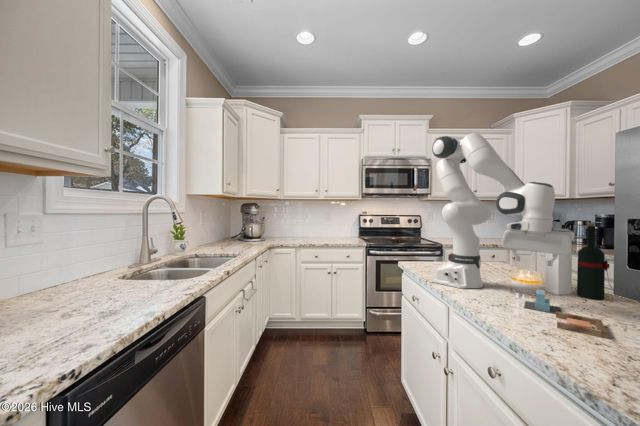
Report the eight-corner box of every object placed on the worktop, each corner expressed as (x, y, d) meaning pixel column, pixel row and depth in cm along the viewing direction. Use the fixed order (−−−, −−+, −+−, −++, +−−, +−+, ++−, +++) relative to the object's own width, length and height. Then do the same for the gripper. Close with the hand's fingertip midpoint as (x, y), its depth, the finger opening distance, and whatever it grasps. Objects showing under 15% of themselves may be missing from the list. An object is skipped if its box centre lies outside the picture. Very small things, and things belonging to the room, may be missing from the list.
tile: (568, 329, 80) (568, 322, 79) (566, 324, 83) (566, 317, 83) (592, 334, 76) (592, 327, 76) (588, 328, 80) (588, 321, 80)
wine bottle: (613, 303, 102) (614, 224, 101) (576, 296, 109) (577, 223, 109) (612, 298, 107) (614, 223, 107) (577, 292, 114) (578, 222, 114)
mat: (523, 309, 95) (523, 308, 95) (525, 301, 102) (525, 300, 102) (561, 316, 88) (561, 315, 88) (560, 308, 96) (560, 307, 96)
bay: (557, 329, 79) (557, 322, 79) (555, 317, 87) (556, 311, 87) (607, 340, 72) (607, 332, 72) (600, 326, 81) (600, 319, 81)
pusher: (534, 308, 94) (534, 293, 94) (535, 303, 99) (535, 288, 99) (549, 311, 91) (549, 295, 91) (549, 306, 97) (549, 291, 97)
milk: (545, 290, 117) (545, 240, 117) (558, 290, 117) (558, 240, 117) (558, 295, 111) (558, 242, 111) (572, 294, 111) (572, 242, 111)
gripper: (574, 228, 94) (570, 267, 95) (504, 223, 107) (501, 257, 108) (576, 230, 89) (572, 270, 90) (502, 224, 102) (499, 259, 103)
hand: (533, 263), depth 99 cm, fingers open, 8 cm apart
